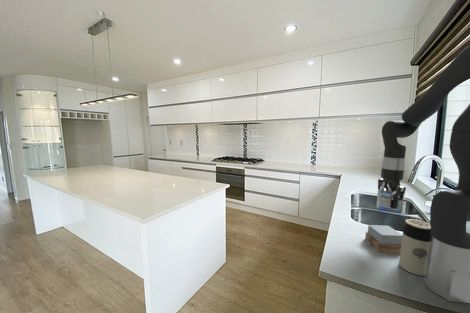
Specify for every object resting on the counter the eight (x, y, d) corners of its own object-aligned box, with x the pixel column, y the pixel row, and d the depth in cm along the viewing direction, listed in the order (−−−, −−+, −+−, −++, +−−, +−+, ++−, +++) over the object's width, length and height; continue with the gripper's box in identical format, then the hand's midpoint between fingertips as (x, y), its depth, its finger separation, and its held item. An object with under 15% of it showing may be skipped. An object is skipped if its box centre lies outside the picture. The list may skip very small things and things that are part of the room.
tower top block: (402, 244, 83) (403, 235, 82) (380, 243, 83) (382, 235, 83) (387, 233, 92) (388, 225, 91) (367, 232, 92) (368, 224, 91)
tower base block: (403, 254, 82) (404, 245, 82) (378, 252, 83) (379, 244, 83) (387, 241, 92) (388, 233, 92) (365, 240, 93) (365, 232, 93)
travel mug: (398, 259, 78) (404, 216, 76) (426, 267, 74) (432, 222, 71) (399, 269, 72) (404, 223, 70) (428, 279, 67) (436, 231, 65)
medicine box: (377, 210, 85) (380, 191, 84) (375, 206, 89) (377, 188, 88) (400, 213, 82) (403, 193, 81) (397, 209, 86) (399, 190, 85)
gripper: (416, 171, 76) (410, 212, 78) (390, 165, 90) (386, 200, 92) (395, 170, 77) (390, 211, 79) (373, 164, 91) (369, 199, 93)
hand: (388, 205), depth 85 cm, fingers closed on medicine box, 5 cm apart
